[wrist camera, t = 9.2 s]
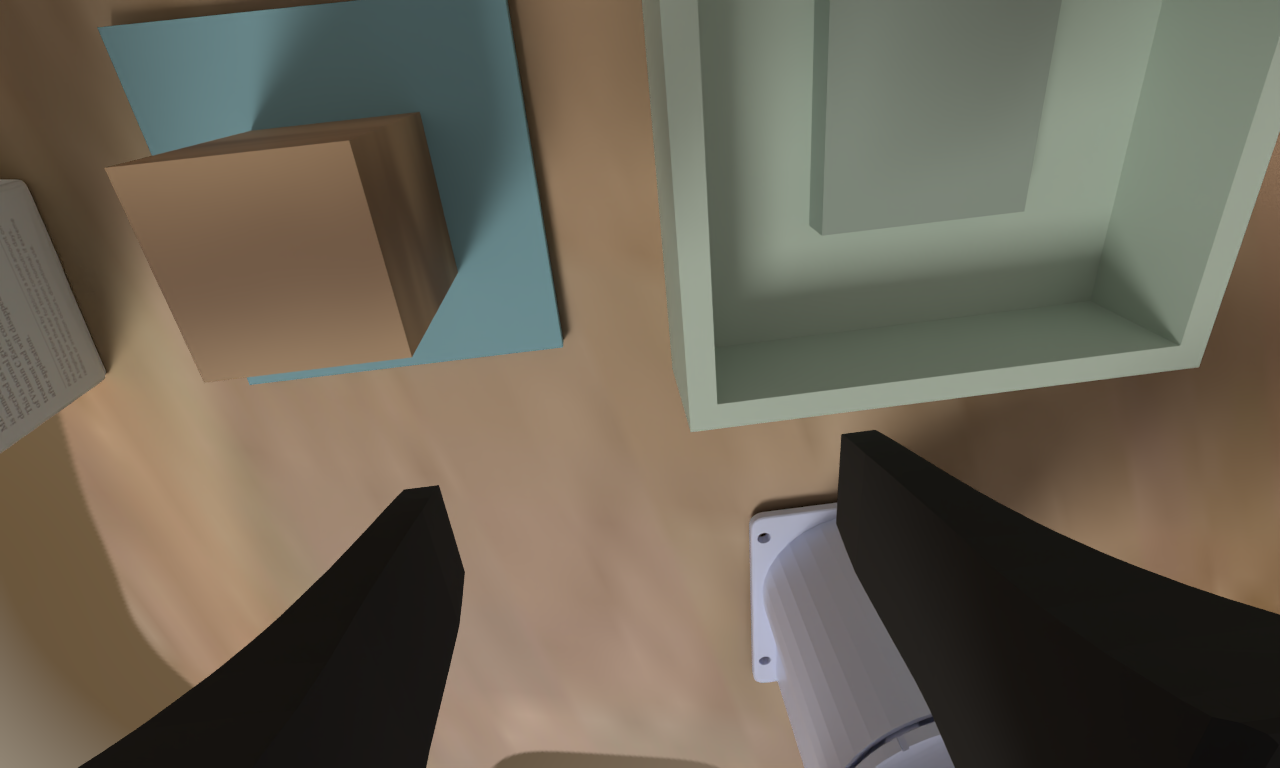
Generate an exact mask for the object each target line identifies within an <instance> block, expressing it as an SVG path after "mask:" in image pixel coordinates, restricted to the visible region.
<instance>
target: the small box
mask: <svg viewBox="0 0 1280 768" xmlns="http://www.w3.org/2000/svg"><path fill="white" fill-rule="evenodd" d="M105 374H106V370H105V368H104V366H103V364H102V361H101V359H100V357H99V354H98V352H97V349H96V347H95V345H94V343H93V340H92V338H91V336H90V333H89V331H88V328H87V326H86V323H85V321H84V319H83V316H82V314H81V312H80V310H79V307H78V305H77V303H76V300H75V298H74V295H73V293H72V290H71V288H70V286H69V283H68V281H67V278H66V276H65V273H64V271H63V268H62V266H61V263H60V261H59V258H58V256H57V253H56V251H55V249H54V247H53V244H52V242H51V239H50V237H49V234H48V232H47V230H46V227H45V225H44V223H43V221H42V219H41V216H40V214H39V212H38V209H37V207H36V205H35V202H34V200H33V198H32V196H31V193H30V191H29V189H28V187H27V185H26V184H25V183H24V182H23V181H22V180H15V179H0V453H2V452H3V451H5V450H6V449H8V448H9V447H11V446H12V445H13V444H14V443H16V442H17V441H18V440H20V439H21V438H23V437H24V436H26V435H27V434H29V433H30V432H32V431H33V430H34V429H36V428H37V427H38V426H40V425H41V424H42V423H44V422H45V421H47V420H48V419H50V418H51V417H52V416H54V415H55V414H57V413H58V412H60V411H61V410H62V409H64V408H65V407H67V406H68V405H69V404H71V403H72V402H73V401H75V400H76V399H77V398H79V397H80V396H82V395H83V394H85V393H86V392H88V391H89V390H90V389H92V388H93V387H95V386H96V385H97V384H99V383H100V382H102V381H103V380H104V378H105Z"/></svg>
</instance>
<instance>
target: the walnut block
mask: <svg viewBox="0 0 1280 768" xmlns="http://www.w3.org/2000/svg"><path fill="white" fill-rule="evenodd" d="M104 169H105V171H106V173H107V175H108V177H109V179H110V181H111V184H112V186H113V188H114V190H115V192H116V194H117V196H118V199H119V201H120V203H121V205H122V207H123V209H124V211H125V214H126V216H127V218H128V220H129V222H130V224H131V226H132V229H133V231H134V233H135V235H136V237H137V239H138V241H139V244H140V246H141V248H142V250H143V252H144V254H145V257H146V259H147V261H148V263H149V265H150V267H151V269H152V272H153V274H154V276H155V278H156V280H157V282H158V284H159V287H160V289H161V291H162V293H163V295H164V297H165V299H166V302H167V304H168V306H169V308H170V310H171V312H172V314H173V317H174V319H175V321H176V323H177V325H178V327H179V329H180V332H181V334H182V336H183V338H184V340H185V342H186V344H187V347H188V349H189V351H190V353H191V355H192V357H193V359H194V362H195V364H196V366H197V368H198V370H199V372H200V375H201V377H202V379H203V381H204V383H205V382H214V381H222V380H230V379H238V378H246V377H255V376H263V375H271V374H279V373H288V372H296V371H304V370H312V369H321V368H329V367H337V366H345V365H353V364H362V363H370V362H378V361H386V360H395V359H403V358H411V357H413V355H414V353H415V351H416V349H417V347H418V345H419V344H420V342H421V340H422V338H423V336H424V334H425V333H426V331H427V329H428V327H429V325H430V323H431V322H432V320H433V318H434V316H435V314H436V312H437V311H438V309H439V307H440V305H441V303H442V301H443V300H444V298H445V296H446V294H447V292H448V290H449V288H450V287H451V285H452V283H453V281H454V279H455V277H456V276H457V274H458V270H457V266H456V262H455V258H454V254H453V249H452V245H451V241H450V237H449V233H448V228H447V224H446V220H445V216H444V211H443V207H442V203H441V199H440V195H439V190H438V186H437V182H436V178H435V173H434V169H433V165H432V161H431V157H430V152H429V148H428V144H427V140H426V135H425V131H424V127H423V123H422V119H421V114H420V112H414V113H405V114H396V115H387V116H378V117H369V118H360V119H351V120H342V121H333V122H324V123H315V124H306V125H298V126H289V127H280V128H271V129H262V130H253V131H248V132H244V133H240V134H236V135H232V136H228V137H224V138H220V139H216V140H212V141H208V142H204V143H200V144H197V145H193V146H189V147H185V148H181V149H177V150H173V151H169V152H165V153H161V154H157V155H153V156H149V157H145V158H141V159H137V160H134V161H130V162H126V163H122V164H118V165H114V166H110V167H106V168H104Z"/></svg>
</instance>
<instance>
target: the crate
mask: <svg viewBox="0 0 1280 768" xmlns="http://www.w3.org/2000/svg"><path fill="white" fill-rule="evenodd" d="M642 9H643V21H644V33H645V45H646V57H647V68H648V80H649V92H650V104H651V116H652V128H653V140H654V152H655V164H656V176H657V188H658V200H659V212H660V224H661V236H662V248H663V260H664V272H665V284H666V296H667V308H668V320H669V332H670V344H671V356H672V368H673V372H674V375H675V379H676V382H677V386H678V389H679V393H680V396H681V400H682V403H683V407H684V410H685V414H686V417H687V421H688V424H689V428H690V431H691V432H696V431H704V430H712V429H719V428H727V427H735V426H743V425H751V424H758V423H766V422H774V421H782V420H790V419H797V418H805V417H813V416H821V415H829V414H837V413H844V412H852V411H860V410H868V409H876V408H883V407H891V406H899V405H907V404H915V403H922V402H930V401H938V400H946V399H954V398H962V397H969V396H977V395H985V394H993V393H1001V392H1008V391H1016V390H1024V389H1032V388H1040V387H1048V386H1055V385H1063V384H1071V383H1079V382H1087V381H1094V380H1102V379H1110V378H1118V377H1126V376H1133V375H1141V374H1149V373H1157V372H1165V371H1173V370H1180V369H1188V368H1196V367H1199V366H1200V363H1201V360H1202V357H1203V354H1204V351H1205V348H1206V345H1207V342H1208V339H1209V337H1210V334H1211V331H1212V328H1213V325H1214V322H1215V319H1216V316H1217V313H1218V310H1219V307H1220V304H1221V301H1222V298H1223V296H1224V293H1225V290H1226V287H1227V284H1228V281H1229V278H1230V275H1231V272H1232V269H1233V266H1234V263H1235V260H1236V257H1237V255H1238V252H1239V249H1240V246H1241V243H1242V240H1243V237H1244V234H1245V231H1246V228H1247V225H1248V222H1249V219H1250V216H1251V214H1252V211H1253V208H1254V205H1255V202H1256V199H1257V196H1258V193H1259V190H1260V187H1261V184H1262V181H1263V178H1264V175H1265V173H1266V170H1267V167H1268V164H1269V161H1270V158H1271V155H1272V152H1273V149H1274V146H1275V143H1276V140H1277V137H1278V134H1279V132H1280V0H642Z"/></svg>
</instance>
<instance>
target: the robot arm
mask: <svg viewBox="0 0 1280 768" xmlns="http://www.w3.org/2000/svg"><path fill="white" fill-rule="evenodd" d="M762 533H767V534H766V535H765V536H762V537H760V536H759V535H760V534H762ZM749 541H750V590H751V640H752V672H753V676H754V679H755V680H756V681H757V682H761V683H766V682H774V681H778V684H779V687H780V690H781V694H782V697H783V700H784V703H785V707H786V710H787V713H788V716H789V719H790V723H791V726H792V729H793V732H794V736H795V739H796V742H797V745H798V748H799V752H800V755H801V758H802V761H803V765H804V768H1280V615H1279V614H1276V613H1273V612H1269V611H1266V610H1263V609H1259V608H1256V607H1253V606H1250V605H1246V604H1243V603H1240V602H1237V601H1233V600H1230V599H1227V598H1224V597H1221V596H1218V595H1215V594H1212V593H1209V592H1206V591H1203V590H1200V589H1197V588H1194V587H1191V586H1188V585H1185V584H1183V583H1180V582H1177V581H1174V580H1172V579H1169V578H1166V577H1164V576H1161V575H1158V574H1156V573H1153V572H1150V571H1148V570H1145V569H1142V568H1139V567H1137V566H1134V565H1132V564H1129V563H1127V562H1124V561H1122V560H1119V559H1117V558H1114V557H1112V556H1109V555H1107V554H1104V553H1102V552H1100V551H1098V550H1095V549H1093V548H1091V547H1089V546H1086V545H1084V544H1082V543H1080V542H1077V541H1075V540H1073V539H1071V538H1068V537H1066V536H1064V535H1062V534H1059V533H1057V532H1055V531H1053V530H1051V529H1049V528H1047V527H1045V526H1043V525H1041V524H1039V523H1037V522H1035V521H1033V520H1031V519H1029V518H1027V517H1025V516H1023V515H1021V514H1019V513H1017V512H1015V511H1014V510H1012V509H1010V508H1008V507H1006V506H1004V505H1002V504H1000V503H998V502H996V501H995V500H993V499H991V498H989V497H988V496H986V495H984V494H982V493H980V492H979V491H977V490H975V489H973V488H972V487H970V486H968V485H966V484H965V483H963V482H961V481H960V480H958V479H956V478H955V477H953V476H951V475H949V474H948V473H946V472H945V471H943V470H941V469H940V468H938V467H936V466H935V465H933V464H931V463H930V462H928V461H926V460H925V459H923V458H922V457H920V456H918V455H917V454H915V453H913V452H912V451H910V450H909V449H907V448H905V447H904V446H902V445H900V444H899V443H897V442H895V441H894V440H892V439H890V438H889V437H887V436H885V435H883V434H882V433H880V432H878V431H876V430H871V431H863V432H855V433H848V434H842V435H841V451H840V467H839V483H838V499H837V503H830V504H822V505H814V506H806V507H799V508H791V509H783V510H775V511H767V512H761V513H757V514H756V515H754V516H753V517H752V518H751V519H750V522H749ZM464 575H465V571H464V568H463V565H462V561H461V558H460V554H459V551H458V548H457V544H456V541H455V538H454V534H453V531H452V528H451V524H450V521H449V518H448V514H447V511H446V508H445V504H444V501H443V498H442V494H441V491H440V488H439V485H437V486H429V487H421V488H414V489H406V490H403V491H402V492H401V493H400V494H399V495H398V496H397V497H396V498H395V499H394V500H393V502H392V503H391V504H390V505H389V506H388V507H387V508H386V509H385V510H384V511H383V512H382V513H381V514H380V515H379V517H378V518H377V519H376V520H375V521H374V522H373V523H372V524H371V525H370V526H369V527H368V529H367V530H366V531H365V532H364V533H363V534H362V535H361V536H360V537H359V538H358V539H357V540H356V541H355V542H354V543H353V544H352V546H351V547H350V548H349V549H348V550H347V551H346V552H345V553H344V554H343V555H342V556H341V557H340V558H339V559H338V560H337V561H336V562H335V563H334V564H333V566H332V567H331V568H330V569H329V570H328V571H327V572H326V573H325V574H324V575H323V576H322V577H320V578H319V579H318V580H317V581H316V582H315V583H314V584H313V585H312V586H311V587H310V588H309V589H308V590H307V591H306V592H305V593H304V594H303V595H302V596H301V597H300V598H299V599H298V600H297V601H296V602H295V603H294V604H293V605H291V606H290V607H289V608H288V609H287V610H286V611H285V612H284V613H283V614H282V615H281V616H280V617H279V618H278V619H277V620H276V621H274V622H273V623H272V624H271V625H270V626H269V627H268V628H267V629H265V630H264V631H263V632H262V633H261V634H260V635H259V636H257V637H256V638H255V639H254V640H253V641H252V642H250V643H249V644H248V645H247V646H246V647H244V648H243V649H242V650H241V651H239V652H238V653H237V654H236V655H235V656H233V657H232V658H231V659H230V660H229V661H227V662H226V663H225V664H224V665H222V666H221V667H220V668H219V669H217V670H216V671H215V672H214V673H212V674H211V675H210V676H209V677H207V678H206V679H204V680H203V681H202V682H200V683H199V684H198V685H196V686H195V687H194V688H192V689H191V690H189V691H188V692H187V693H185V694H184V695H183V696H181V697H180V698H179V699H177V700H176V701H175V702H173V703H172V704H171V705H169V706H168V707H166V708H165V709H164V710H162V711H161V712H160V713H158V714H157V715H156V716H154V717H153V718H151V719H150V720H149V721H147V722H146V723H145V724H143V725H142V726H140V727H139V728H137V729H136V730H134V731H133V732H131V733H130V734H128V735H127V736H125V737H124V738H123V739H121V740H120V741H118V742H117V743H115V744H114V745H112V746H111V747H109V748H108V749H106V750H105V751H103V752H102V753H100V754H99V755H97V756H95V757H94V758H92V759H91V760H89V761H88V762H86V763H85V764H83V765H81V766H80V767H78V768H426V765H427V760H428V755H429V750H430V746H431V742H432V738H433V734H434V730H435V725H436V721H437V717H438V713H439V709H440V705H441V701H442V696H443V692H444V688H445V684H446V680H447V676H448V672H449V668H450V663H451V659H452V655H453V650H454V646H455V642H456V638H457V633H458V629H459V623H460V615H461V606H462V596H463V586H464Z"/></svg>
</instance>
